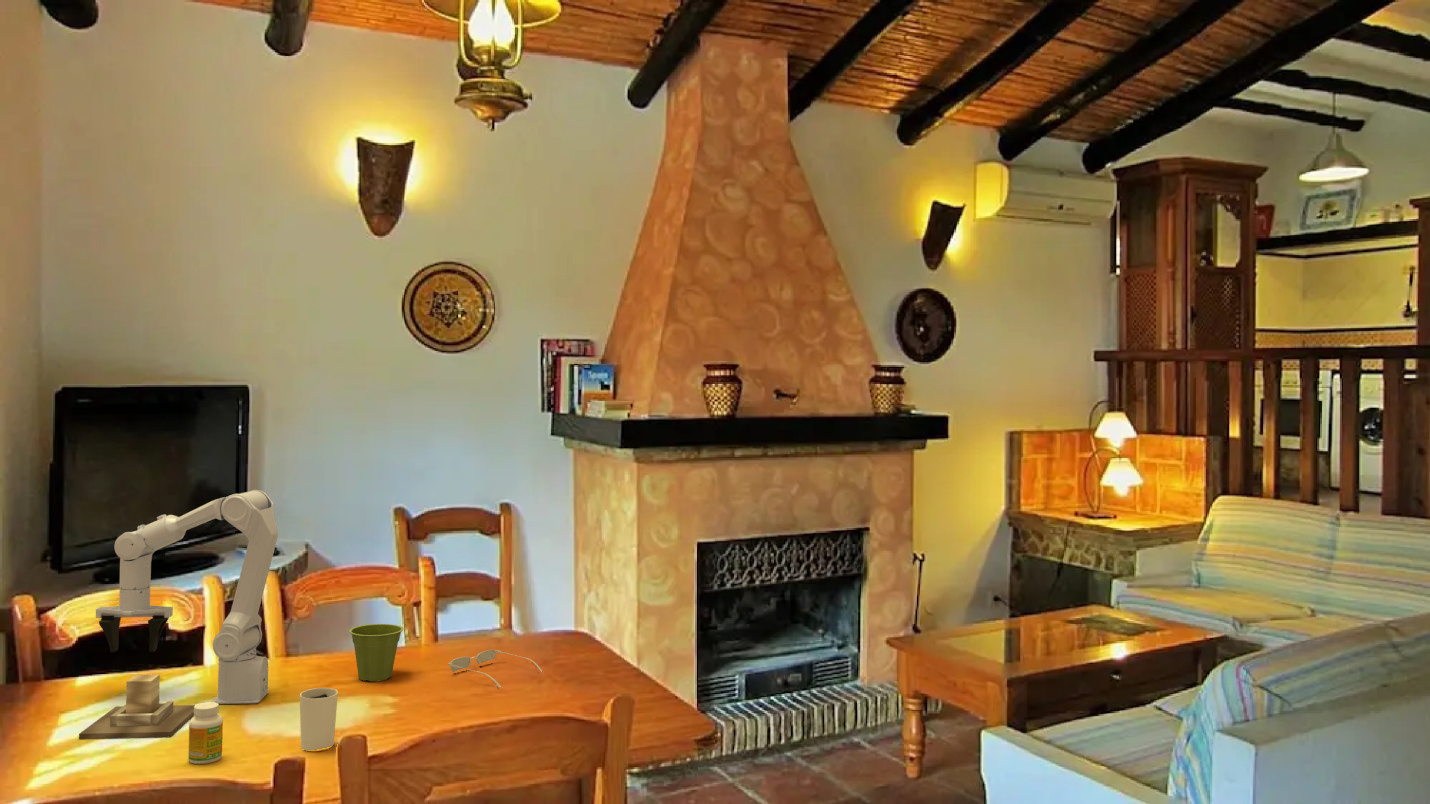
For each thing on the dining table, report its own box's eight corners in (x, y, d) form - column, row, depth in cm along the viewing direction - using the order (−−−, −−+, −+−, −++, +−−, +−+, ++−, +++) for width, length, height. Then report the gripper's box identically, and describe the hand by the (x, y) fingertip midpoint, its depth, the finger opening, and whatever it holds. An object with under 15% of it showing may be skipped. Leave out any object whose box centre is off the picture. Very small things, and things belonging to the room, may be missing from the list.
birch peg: (158, 714, 200) (159, 674, 200) (150, 722, 196) (150, 681, 196) (134, 715, 200) (135, 675, 199) (125, 722, 195) (126, 681, 195)
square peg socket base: (200, 709, 207) (200, 695, 207) (170, 737, 191) (170, 721, 191) (115, 711, 204) (116, 696, 204) (78, 739, 189) (79, 723, 189)
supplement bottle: (207, 766, 178) (209, 711, 177) (181, 763, 179) (182, 708, 179) (228, 755, 183) (229, 702, 183) (202, 752, 184) (203, 699, 184)
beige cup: (304, 740, 192) (306, 687, 192) (340, 740, 192) (342, 688, 192) (293, 753, 185) (294, 698, 185) (330, 753, 186) (332, 699, 185)
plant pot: (413, 676, 234) (414, 628, 234) (370, 688, 224) (372, 638, 224) (379, 667, 241) (380, 620, 240) (336, 679, 231) (338, 629, 230)
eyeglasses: (496, 663, 249) (496, 647, 248) (549, 678, 238) (549, 661, 238) (446, 677, 236) (447, 660, 236) (499, 693, 226) (500, 675, 225)
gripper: (89, 591, 210) (88, 656, 210) (164, 591, 212) (163, 655, 212) (104, 584, 217) (103, 647, 217) (176, 584, 219) (175, 646, 219)
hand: (133, 650), depth 215 cm, fingers open, 7 cm apart
